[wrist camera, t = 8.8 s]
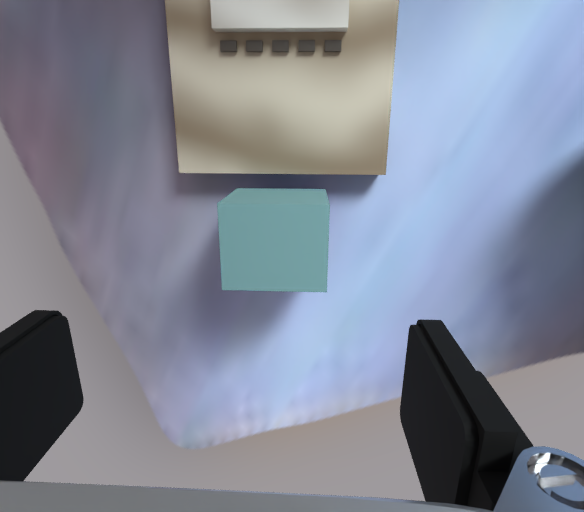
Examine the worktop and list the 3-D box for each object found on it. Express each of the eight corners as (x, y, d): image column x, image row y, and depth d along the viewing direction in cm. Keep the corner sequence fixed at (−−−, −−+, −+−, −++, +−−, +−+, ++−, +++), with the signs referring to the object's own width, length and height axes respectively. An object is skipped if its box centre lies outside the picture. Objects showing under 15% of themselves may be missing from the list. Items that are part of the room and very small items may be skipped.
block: (237, 188, 26) (217, 203, 21) (325, 189, 26) (329, 204, 20) (239, 257, 28) (222, 290, 22) (323, 259, 28) (326, 292, 22)
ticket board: (164, -141, 23) (143, -180, 20) (403, -146, 22) (417, -188, 19) (187, 170, 28) (174, 174, 25) (380, 172, 28) (388, 176, 25)
